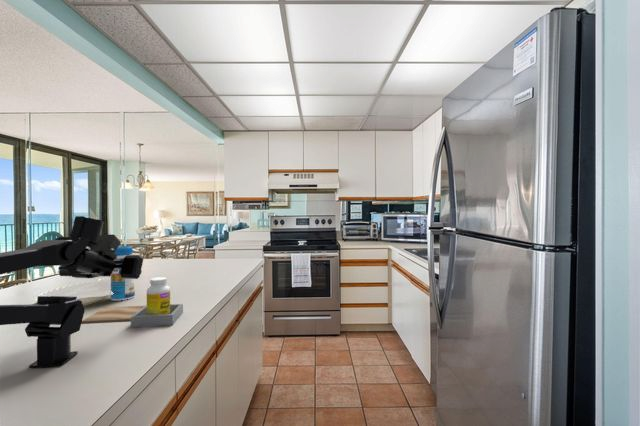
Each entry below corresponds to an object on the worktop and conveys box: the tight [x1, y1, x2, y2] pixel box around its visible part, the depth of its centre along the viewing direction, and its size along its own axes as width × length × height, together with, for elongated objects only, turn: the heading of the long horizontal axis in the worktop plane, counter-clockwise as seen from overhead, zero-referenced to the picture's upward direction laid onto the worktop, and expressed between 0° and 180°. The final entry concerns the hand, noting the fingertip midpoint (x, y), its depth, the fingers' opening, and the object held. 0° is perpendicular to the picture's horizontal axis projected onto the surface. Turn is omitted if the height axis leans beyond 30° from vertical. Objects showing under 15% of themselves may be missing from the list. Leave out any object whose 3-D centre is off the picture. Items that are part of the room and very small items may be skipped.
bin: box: [130, 303, 184, 328], centre depth 101 cm, size 12×12×3 cm
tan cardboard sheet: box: [81, 305, 145, 324], centre depth 106 cm, size 14×14×1 cm
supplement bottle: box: [146, 276, 171, 315], centre depth 101 cm, size 7×7×13 cm
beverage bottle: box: [109, 245, 136, 302], centre depth 126 cm, size 8×8×20 cm
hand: (126, 272), depth 98 cm, fingers open, 9 cm apart
